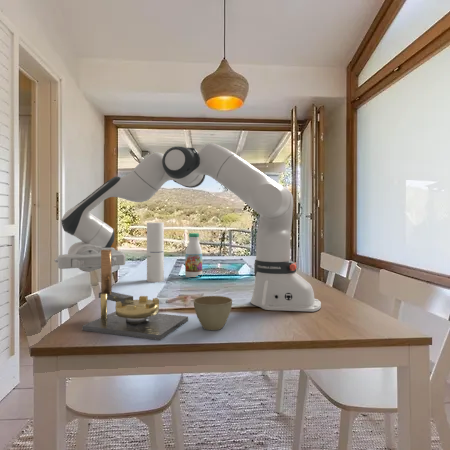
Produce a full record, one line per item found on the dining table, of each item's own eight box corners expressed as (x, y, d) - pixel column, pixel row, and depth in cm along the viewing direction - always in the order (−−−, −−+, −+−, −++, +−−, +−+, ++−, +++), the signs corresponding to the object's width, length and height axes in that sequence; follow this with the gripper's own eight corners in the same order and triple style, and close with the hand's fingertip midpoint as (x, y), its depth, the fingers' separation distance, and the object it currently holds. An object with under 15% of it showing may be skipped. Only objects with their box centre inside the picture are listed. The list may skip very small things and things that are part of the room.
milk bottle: (183, 275, 170) (183, 232, 169) (200, 275, 172) (200, 232, 172) (187, 278, 163) (187, 233, 162) (204, 278, 165) (204, 233, 164)
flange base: (188, 320, 100) (188, 293, 100) (160, 340, 85) (160, 307, 84) (119, 313, 107) (119, 287, 106) (82, 330, 91) (82, 300, 91)
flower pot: (230, 321, 100) (231, 295, 100) (233, 333, 90) (233, 304, 90) (194, 321, 99) (194, 295, 99) (192, 333, 89) (192, 304, 89)
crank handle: (167, 310, 97) (167, 252, 96) (135, 320, 88) (135, 256, 87) (119, 300, 108) (119, 248, 108) (86, 307, 99) (85, 251, 99)
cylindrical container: (160, 282, 154) (160, 222, 153) (144, 281, 155) (144, 222, 154) (166, 279, 161) (166, 222, 160) (150, 278, 162) (150, 222, 161)
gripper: (53, 249, 116) (60, 254, 104) (118, 247, 127) (130, 251, 115) (53, 269, 116) (60, 276, 104) (118, 265, 127) (130, 271, 115)
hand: (97, 263), depth 110 cm, fingers open, 8 cm apart
